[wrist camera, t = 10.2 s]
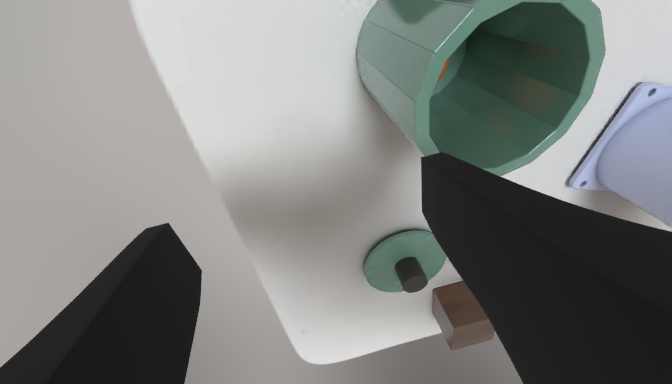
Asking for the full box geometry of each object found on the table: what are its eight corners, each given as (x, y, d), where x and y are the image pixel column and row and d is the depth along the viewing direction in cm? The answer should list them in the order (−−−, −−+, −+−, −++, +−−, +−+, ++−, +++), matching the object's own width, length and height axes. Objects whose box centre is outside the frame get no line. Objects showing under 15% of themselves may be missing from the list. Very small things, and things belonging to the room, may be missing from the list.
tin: (476, -39, 14) (638, -48, 8) (466, 94, 18) (572, 158, 12) (346, -7, 14) (410, 9, 8) (365, 120, 18) (417, 199, 12)
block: (469, 302, 32) (492, 339, 28) (432, 312, 31) (451, 351, 28) (473, 277, 29) (498, 315, 26) (433, 288, 29) (453, 328, 26)
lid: (442, 216, 24) (460, 241, 21) (441, 271, 28) (456, 298, 25) (356, 239, 23) (366, 267, 21) (368, 291, 27) (377, 320, 25)
